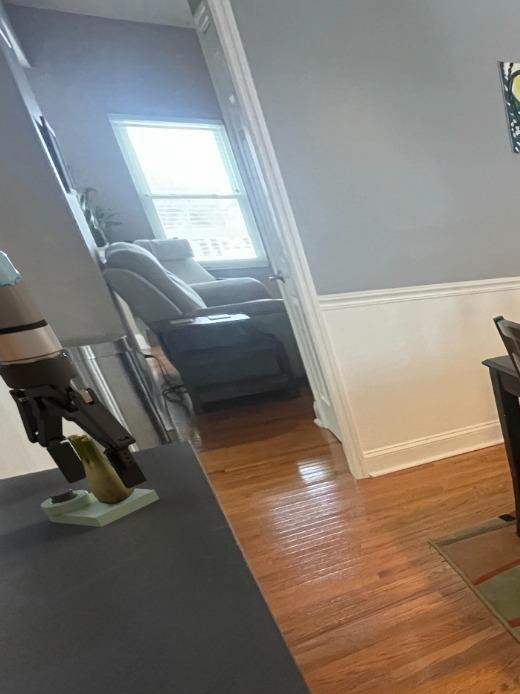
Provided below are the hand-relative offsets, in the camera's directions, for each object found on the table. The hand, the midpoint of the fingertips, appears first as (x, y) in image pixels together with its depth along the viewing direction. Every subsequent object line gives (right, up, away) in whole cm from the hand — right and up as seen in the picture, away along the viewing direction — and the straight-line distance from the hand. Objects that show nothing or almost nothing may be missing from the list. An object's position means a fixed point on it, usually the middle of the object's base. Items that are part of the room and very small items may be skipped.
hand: (108, 482), depth 100 cm
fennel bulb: (0, -3, +2) cm, 4 cm away
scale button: (-6, -3, -1) cm, 7 cm away
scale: (-2, -5, +2) cm, 6 cm away
